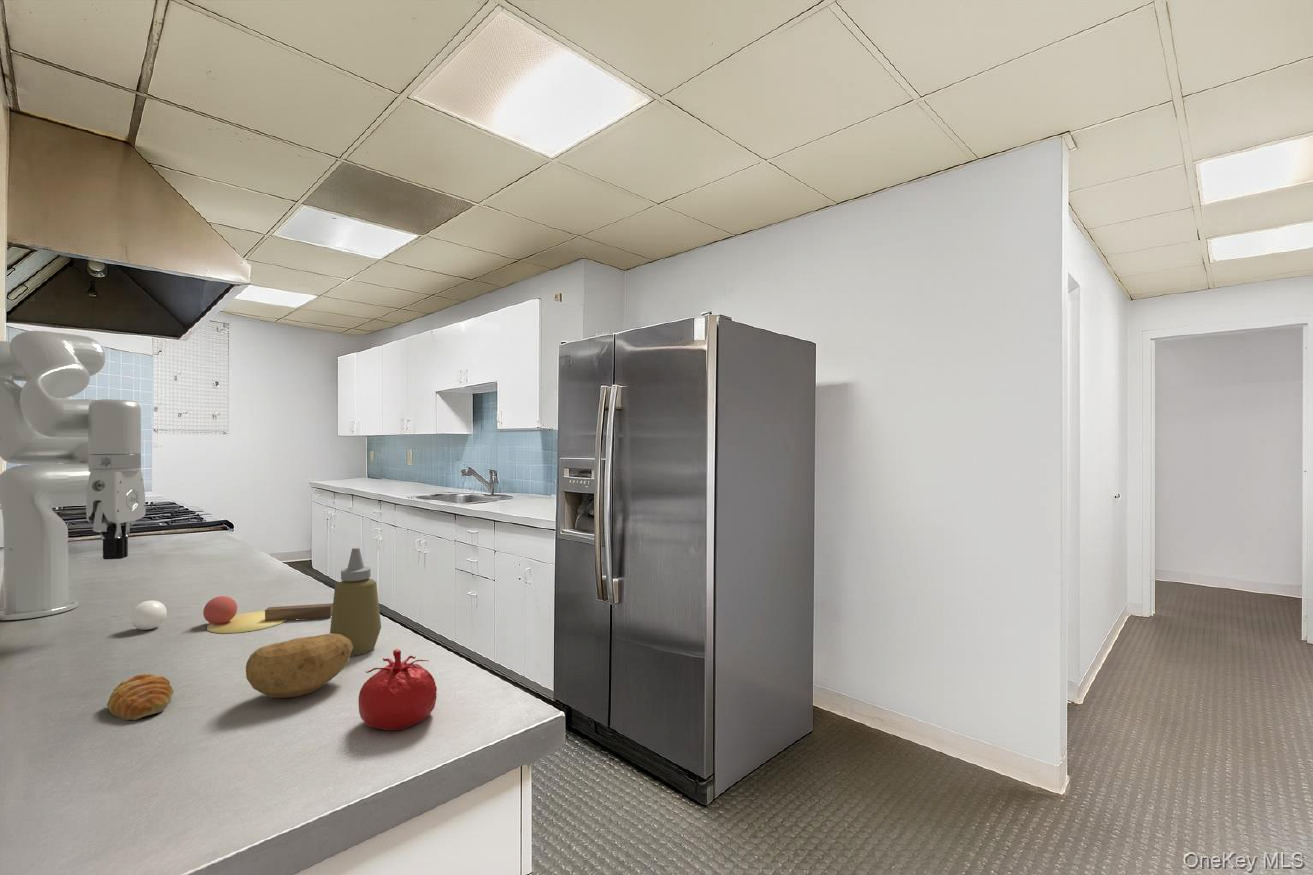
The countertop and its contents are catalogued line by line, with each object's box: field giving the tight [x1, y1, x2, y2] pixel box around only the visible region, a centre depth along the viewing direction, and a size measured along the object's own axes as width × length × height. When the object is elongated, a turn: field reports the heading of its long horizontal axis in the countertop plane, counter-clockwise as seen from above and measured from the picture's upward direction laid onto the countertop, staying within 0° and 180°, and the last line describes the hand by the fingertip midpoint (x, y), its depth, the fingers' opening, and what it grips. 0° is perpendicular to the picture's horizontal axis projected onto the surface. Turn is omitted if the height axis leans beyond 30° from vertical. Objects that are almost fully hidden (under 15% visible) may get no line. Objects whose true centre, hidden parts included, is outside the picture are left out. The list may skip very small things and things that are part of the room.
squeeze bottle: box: [329, 547, 382, 657], centre depth 104 cm, size 8×8×18 cm
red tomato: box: [357, 649, 438, 731], centre depth 79 cm, size 10×10×9 cm
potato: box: [245, 632, 353, 699], centre depth 87 cm, size 10×14×8 cm
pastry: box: [106, 673, 174, 721], centre depth 82 cm, size 9×7×4 cm
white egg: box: [129, 600, 168, 631], centre depth 116 cm, size 6×6×6 cm
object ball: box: [202, 595, 238, 625], centre depth 119 cm, size 6×6×6 cm
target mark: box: [206, 610, 287, 634], centre depth 120 cm, size 14×14×1 cm
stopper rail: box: [264, 602, 333, 621], centre depth 122 cm, size 2×12×2 cm, turn 104°
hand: (115, 558), depth 115 cm, fingers closed
